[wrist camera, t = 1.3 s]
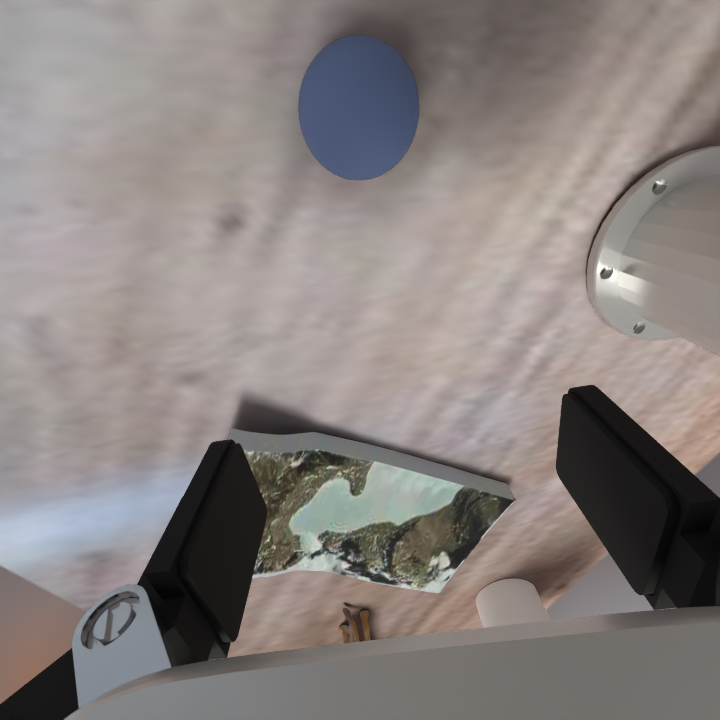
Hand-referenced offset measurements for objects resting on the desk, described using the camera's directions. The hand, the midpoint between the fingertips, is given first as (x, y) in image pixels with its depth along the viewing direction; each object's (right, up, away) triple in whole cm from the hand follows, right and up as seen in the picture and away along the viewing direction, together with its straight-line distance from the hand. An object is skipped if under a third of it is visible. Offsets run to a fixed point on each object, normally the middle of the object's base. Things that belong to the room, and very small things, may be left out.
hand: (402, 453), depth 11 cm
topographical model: (-2, -11, +25) cm, 28 cm away
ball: (-1, +15, +8) cm, 17 cm away
